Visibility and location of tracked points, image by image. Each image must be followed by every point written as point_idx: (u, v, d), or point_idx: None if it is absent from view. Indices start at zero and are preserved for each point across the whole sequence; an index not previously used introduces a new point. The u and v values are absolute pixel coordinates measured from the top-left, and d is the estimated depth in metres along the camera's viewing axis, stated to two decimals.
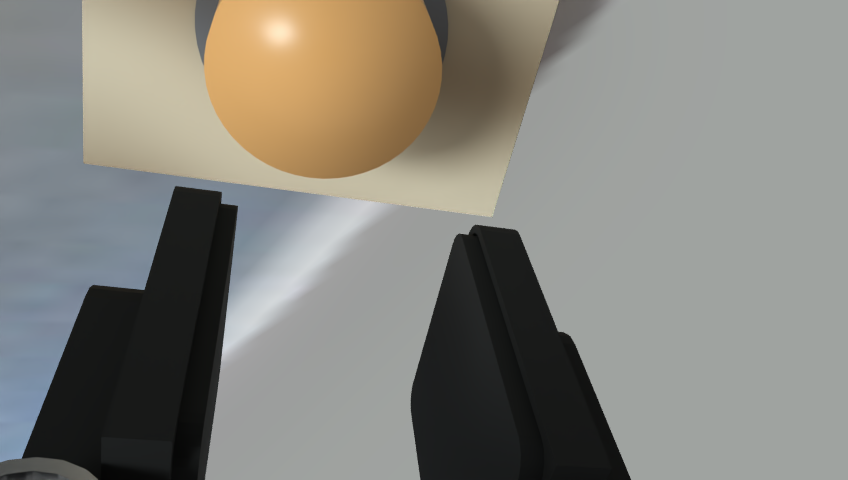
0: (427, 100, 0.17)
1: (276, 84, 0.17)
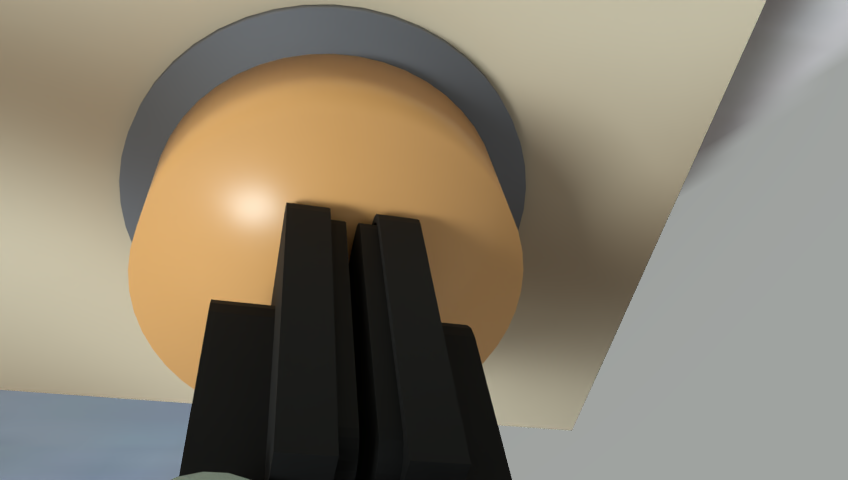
0: (496, 319, 0.11)
1: None
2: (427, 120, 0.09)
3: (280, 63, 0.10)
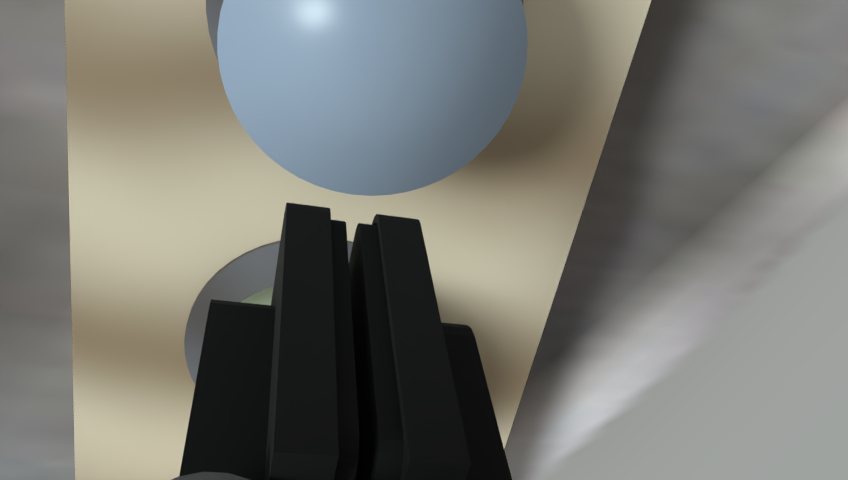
0: None
1: None
2: None
3: None
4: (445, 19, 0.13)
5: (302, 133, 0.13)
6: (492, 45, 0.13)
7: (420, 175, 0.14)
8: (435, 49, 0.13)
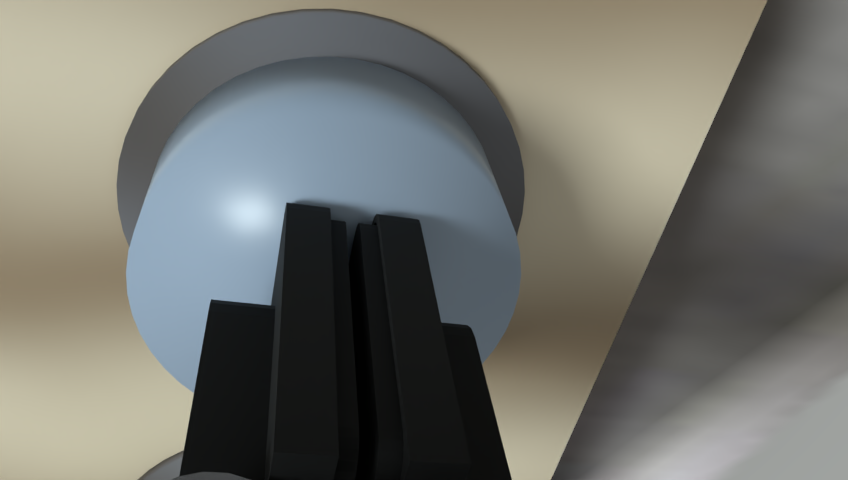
0: None
1: None
2: None
3: None
4: None
5: None
6: (476, 277, 0.10)
7: None
8: None
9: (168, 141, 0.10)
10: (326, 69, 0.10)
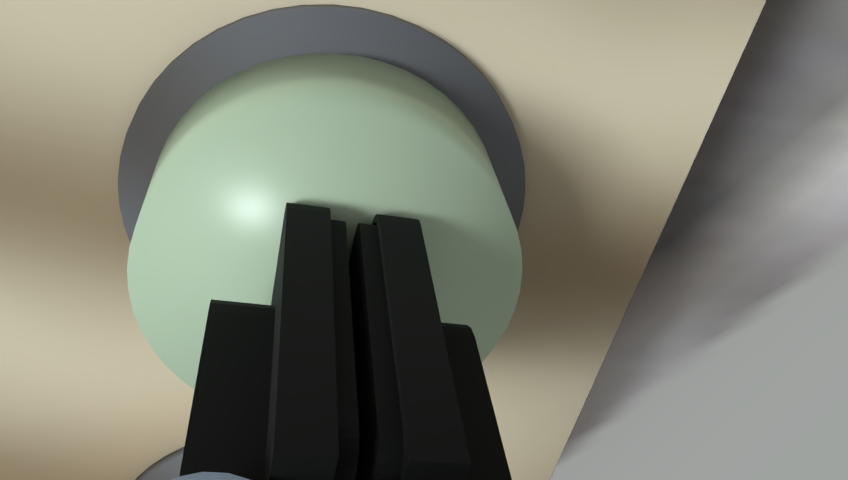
0: None
1: None
2: None
3: None
4: None
5: None
6: None
7: None
8: None
9: None
10: None
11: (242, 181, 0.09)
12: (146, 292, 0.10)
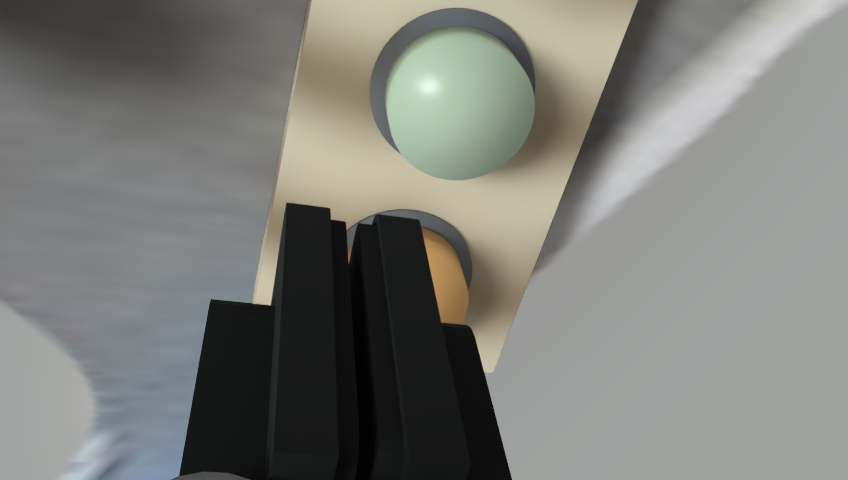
0: (459, 316, 0.31)
1: None
2: (438, 250, 0.30)
3: None
4: None
5: None
6: None
7: None
8: None
9: None
10: None
11: (438, 66, 0.26)
12: (395, 110, 0.26)
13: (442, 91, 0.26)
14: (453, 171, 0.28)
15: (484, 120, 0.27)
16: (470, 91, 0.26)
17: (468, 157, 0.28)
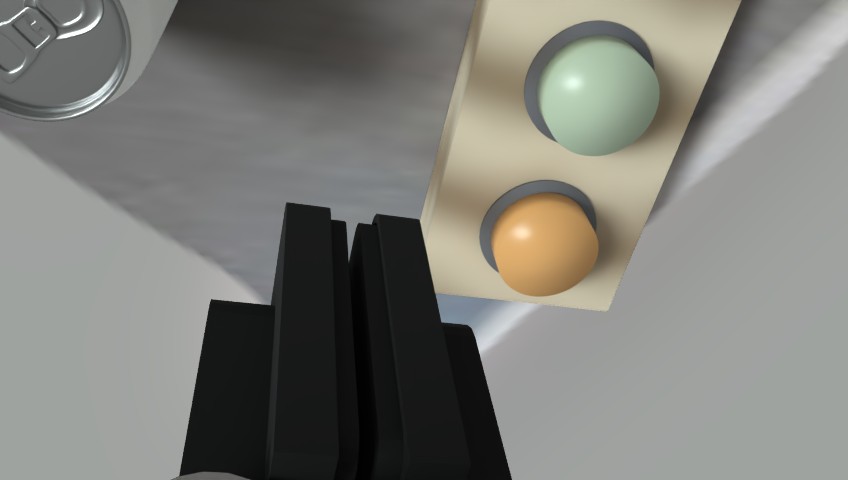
0: (590, 264, 0.39)
1: (526, 259, 0.38)
2: (576, 212, 0.38)
3: (534, 195, 0.38)
4: None
5: None
6: None
7: None
8: None
9: None
10: None
11: (586, 68, 0.33)
12: (551, 103, 0.34)
13: (588, 87, 0.34)
14: (593, 149, 0.35)
15: (619, 108, 0.34)
16: (610, 87, 0.34)
17: (605, 138, 0.35)
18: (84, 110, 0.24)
